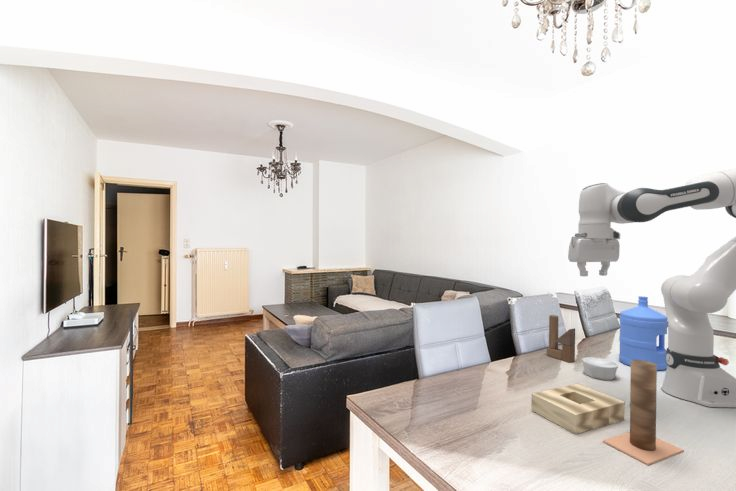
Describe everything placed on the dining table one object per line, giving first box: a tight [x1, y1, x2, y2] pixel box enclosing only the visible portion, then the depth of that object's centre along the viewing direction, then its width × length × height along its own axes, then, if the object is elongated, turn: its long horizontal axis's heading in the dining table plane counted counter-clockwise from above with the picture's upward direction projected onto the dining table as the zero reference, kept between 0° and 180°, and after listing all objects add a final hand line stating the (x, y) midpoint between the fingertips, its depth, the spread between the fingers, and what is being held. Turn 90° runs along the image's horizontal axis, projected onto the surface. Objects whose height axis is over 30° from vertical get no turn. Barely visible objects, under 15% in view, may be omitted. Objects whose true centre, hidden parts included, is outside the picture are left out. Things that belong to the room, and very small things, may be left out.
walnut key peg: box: [629, 360, 658, 451], centre depth 85 cm, size 5×5×20 cm
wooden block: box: [546, 314, 576, 364], centre depth 151 cm, size 4×11×18 cm, turn 26°
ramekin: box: [581, 356, 619, 381], centre depth 132 cm, size 11×11×5 cm
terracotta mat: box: [602, 431, 685, 466], centre depth 85 cm, size 14×10×1 cm
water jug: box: [618, 296, 668, 371], centre depth 145 cm, size 16×16×28 cm
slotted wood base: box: [531, 383, 626, 435], centre depth 101 cm, size 20×14×5 cm
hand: (593, 275), depth 114 cm, fingers open, 8 cm apart
